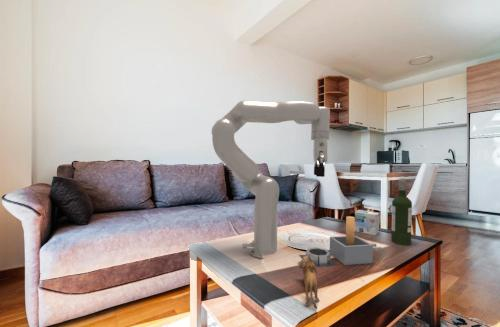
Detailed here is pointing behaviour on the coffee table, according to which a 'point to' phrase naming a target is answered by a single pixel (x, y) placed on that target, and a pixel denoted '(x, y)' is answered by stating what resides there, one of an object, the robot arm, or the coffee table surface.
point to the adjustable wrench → (374, 247)
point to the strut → (350, 230)
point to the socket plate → (320, 257)
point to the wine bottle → (401, 216)
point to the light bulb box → (367, 222)
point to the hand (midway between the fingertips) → (318, 175)
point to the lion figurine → (309, 279)
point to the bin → (351, 251)
